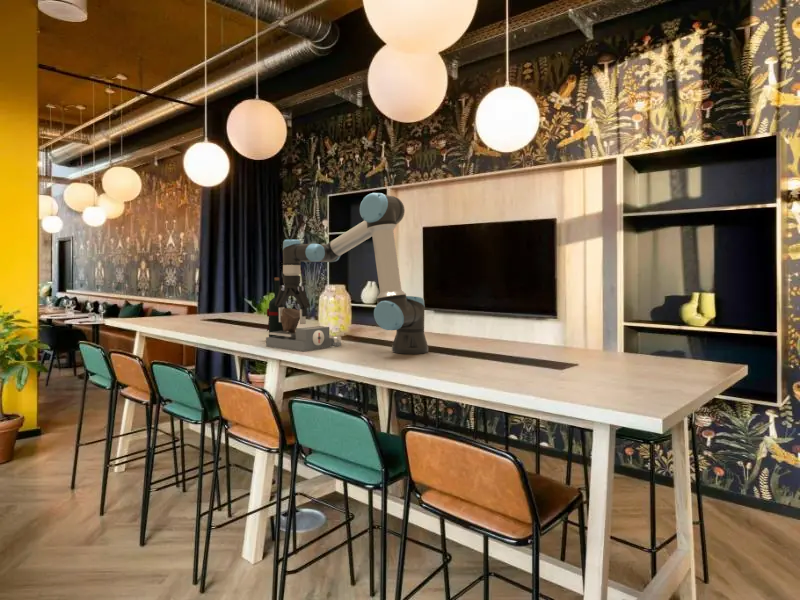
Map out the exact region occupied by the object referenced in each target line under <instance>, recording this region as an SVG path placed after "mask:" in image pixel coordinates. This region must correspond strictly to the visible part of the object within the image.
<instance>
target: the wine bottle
mask: <svg viewBox="0 0 800 600" xmlns="http://www.w3.org/2000/svg"><path fill="white" fill-rule="evenodd" d="M279 286H280V277H274V297H273V298H272V299H271V300H270V301H269V302H268V308H267V309H266V316H267V318H268V323H267V330H266V332H268V337H272V336H279V335H270V334H269V332H275V331H283V326H282V322H279V314H278V307H277V306H275V301H276V298H277V295H278V292H279ZM284 307H285V308H286V303H285V304H284Z"/></svg>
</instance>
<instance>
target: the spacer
mask: <svg viewBox="0 0 800 600" xmlns="http://www.w3.org/2000/svg"><path fill="white" fill-rule="evenodd" d="M330 338H331V347H341V346H342V336H339V335H335V336H334V335H331V337H330Z"/></svg>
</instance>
